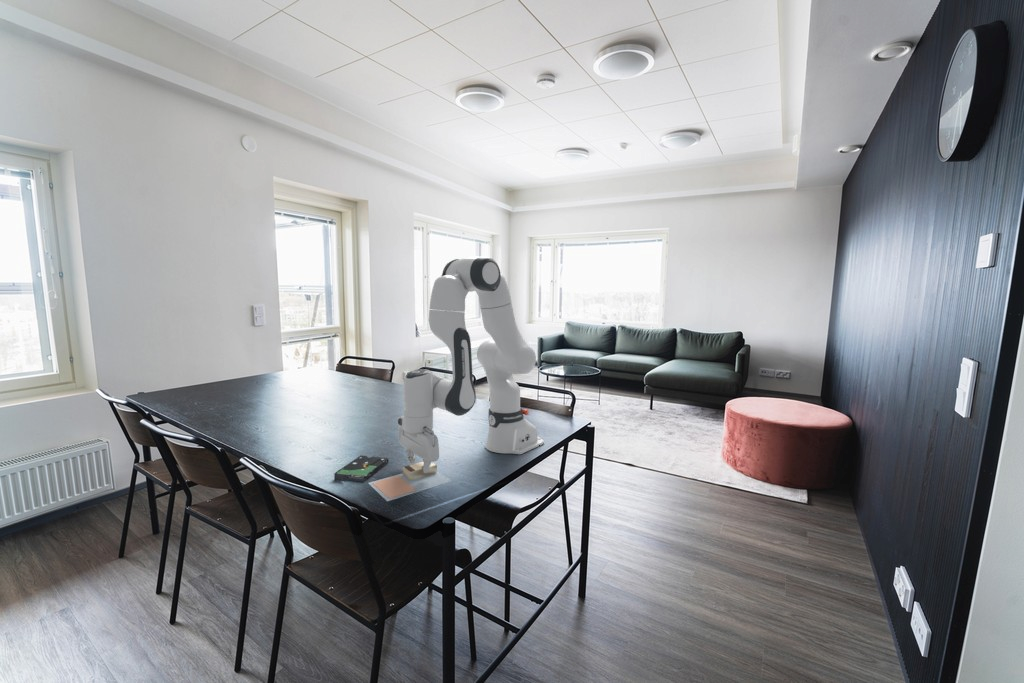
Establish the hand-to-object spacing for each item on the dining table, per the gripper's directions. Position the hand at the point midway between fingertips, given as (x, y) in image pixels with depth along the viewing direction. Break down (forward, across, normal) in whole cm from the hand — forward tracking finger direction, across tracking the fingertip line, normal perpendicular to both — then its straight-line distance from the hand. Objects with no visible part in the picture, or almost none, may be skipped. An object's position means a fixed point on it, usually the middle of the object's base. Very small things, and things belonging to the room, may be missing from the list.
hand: (418, 466), depth 131 cm
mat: (+3, -4, +4) cm, 6 cm away
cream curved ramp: (+2, 0, -1) cm, 2 cm away
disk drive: (+4, +13, +12) cm, 19 cm away
